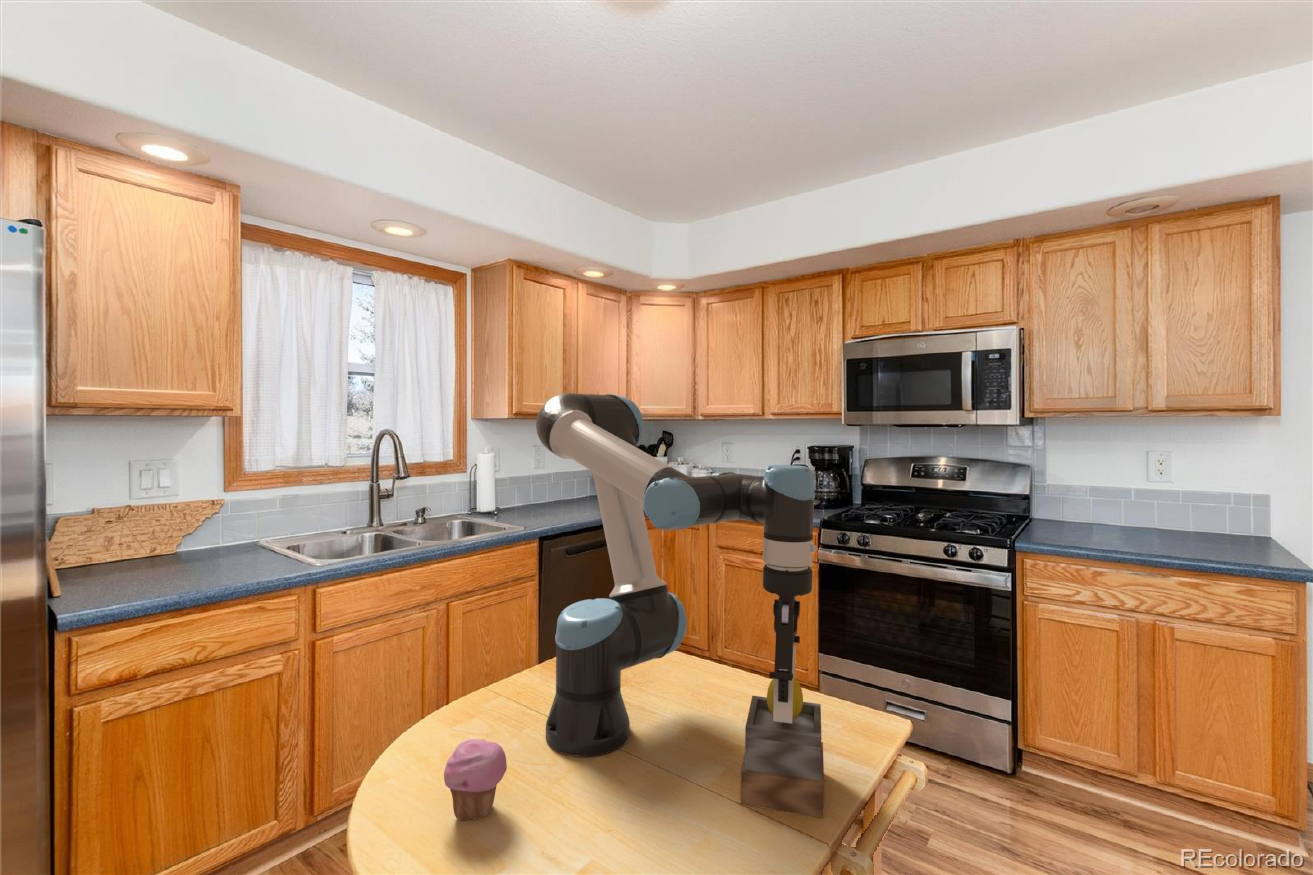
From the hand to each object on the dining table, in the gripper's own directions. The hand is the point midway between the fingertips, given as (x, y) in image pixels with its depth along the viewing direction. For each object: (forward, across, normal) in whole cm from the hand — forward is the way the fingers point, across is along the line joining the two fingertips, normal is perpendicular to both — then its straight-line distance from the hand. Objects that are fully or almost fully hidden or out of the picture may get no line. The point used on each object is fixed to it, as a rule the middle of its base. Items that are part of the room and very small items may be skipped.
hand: (784, 701), depth 97 cm
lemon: (+4, 0, 0) cm, 4 cm away
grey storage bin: (+14, 0, 0) cm, 14 cm away
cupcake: (+14, -18, +43) cm, 49 cm away
